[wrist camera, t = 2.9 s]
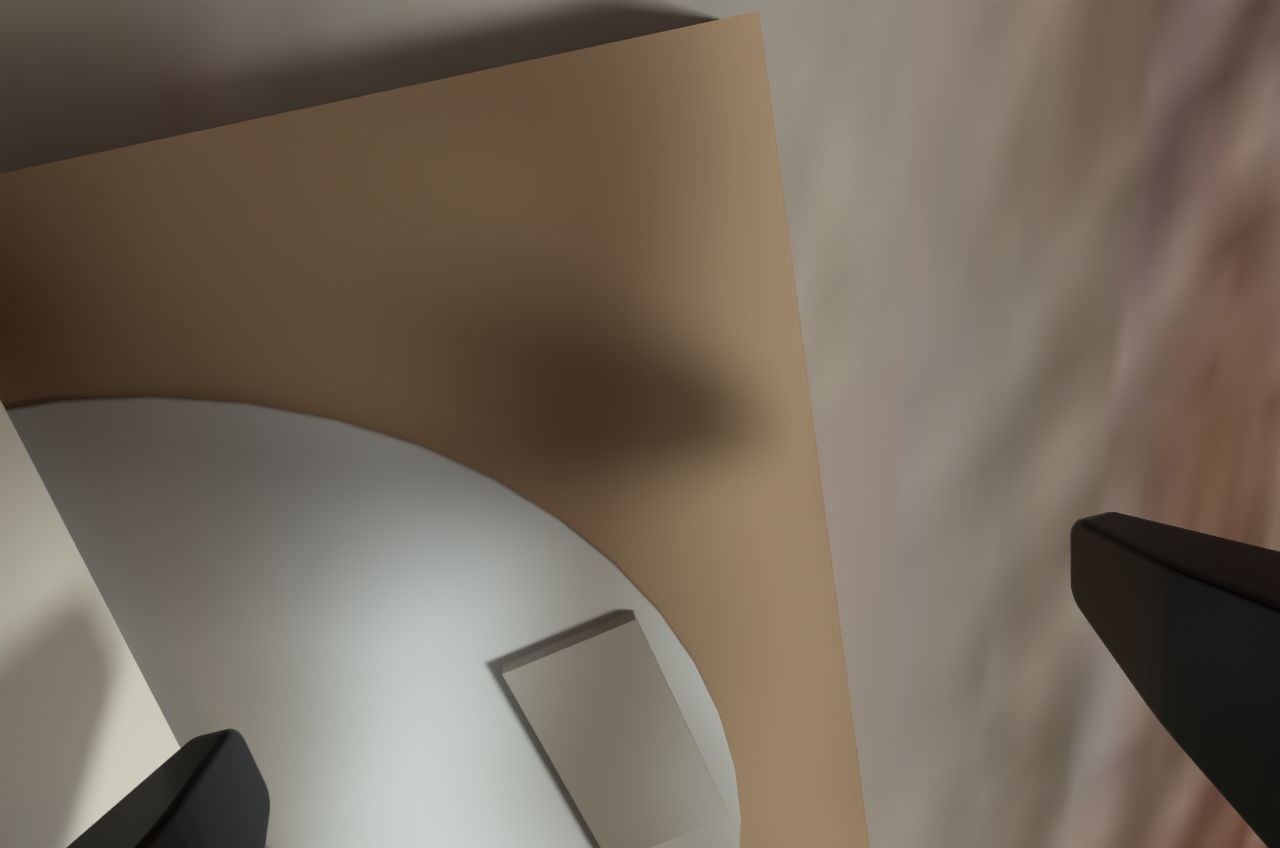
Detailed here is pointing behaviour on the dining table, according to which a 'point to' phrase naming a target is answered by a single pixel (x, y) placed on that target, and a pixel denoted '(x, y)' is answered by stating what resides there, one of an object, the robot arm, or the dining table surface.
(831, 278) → the dining table surface
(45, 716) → the dial pointer lever
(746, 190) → the tuner board
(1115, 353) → the dining table surface
